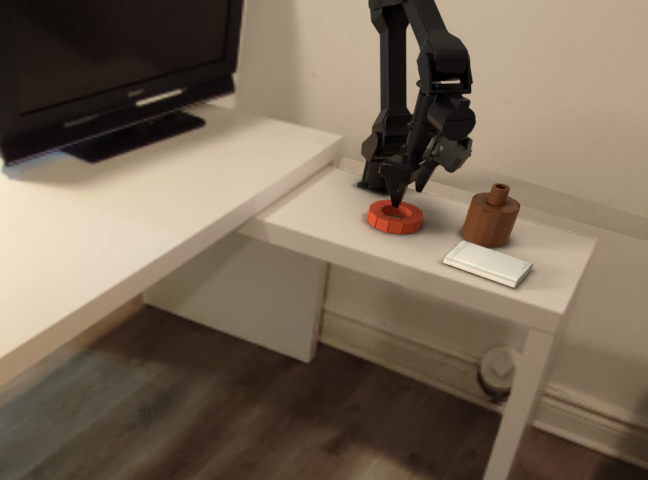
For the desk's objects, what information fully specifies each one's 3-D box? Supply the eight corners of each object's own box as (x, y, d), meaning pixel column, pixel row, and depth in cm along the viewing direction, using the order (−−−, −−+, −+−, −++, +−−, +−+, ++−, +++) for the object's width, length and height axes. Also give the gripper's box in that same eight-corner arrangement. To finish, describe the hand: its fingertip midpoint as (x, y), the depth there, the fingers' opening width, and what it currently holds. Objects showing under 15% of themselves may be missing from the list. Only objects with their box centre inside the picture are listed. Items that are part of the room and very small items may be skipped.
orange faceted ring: (357, 221, 151) (360, 211, 150) (383, 205, 157) (385, 195, 155) (404, 239, 146) (407, 228, 145) (429, 221, 152) (432, 211, 150)
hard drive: (534, 262, 137) (463, 238, 143) (517, 281, 132) (445, 255, 138) (530, 270, 138) (461, 246, 144) (513, 289, 133) (442, 263, 139)
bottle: (453, 236, 147) (469, 186, 141) (472, 222, 152) (488, 173, 145) (496, 252, 143) (515, 201, 136) (514, 236, 147) (533, 186, 141)
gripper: (447, 146, 132) (423, 230, 142) (494, 117, 143) (468, 197, 153) (387, 128, 138) (368, 210, 148) (436, 102, 149) (415, 180, 159)
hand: (407, 199), depth 152 cm, fingers open, 9 cm apart
